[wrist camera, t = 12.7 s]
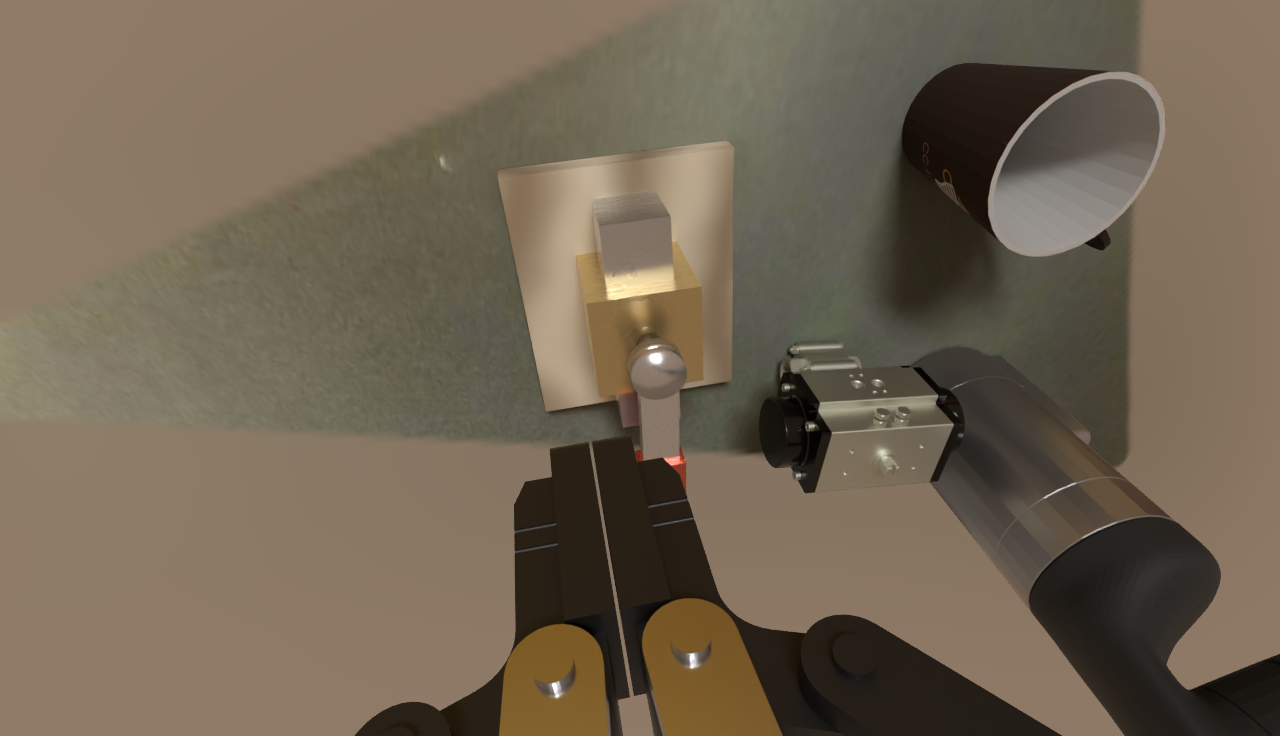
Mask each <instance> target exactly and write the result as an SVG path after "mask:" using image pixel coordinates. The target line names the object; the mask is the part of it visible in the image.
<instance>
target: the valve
mask: <svg viewBox="0 0 1280 736" xmlns="http://www.w3.org/2000/svg"><path fill="white" fill-rule="evenodd" d="M591 204H592V212H593V221H594V229H595V237H596V245H597V252H595V253H588V254H581V255H576V261H577V268H578V275H579V281H580V288H581V295H582V302H583V309H584V316H585V323H586V330H587V337H588V343H589V348H590V353H591V358H592V363H593V368H594V373H595V378H596V383H597V388H598V392H599V397H606V396H612V395H615V396H616V400H617V405H618V409H619V413H620V417H621V421H622V426H623V428H626V427H632V426H637V425H639V409H638V393H637V392H636V390H635V389H634V387H633V384H632V380H631V376H630V373H629V369H628V358H629V356H630V354H631V352H632V351H633V349H634V348H635V347H636V346H637V345H639V344H640V343H642V342H644V341H646V340H649V339H655V338H661V339H666V340H669V341H671V342H672V343H674V344H675V345H676V346H677V347H678V349H679V351H680V353H681V356H682V358H683V361H684V363H685V365H686V368H687V379H686V382H685V383H690V382H696V381H702V380H704V373H703V326H702V286H701V284H700V283H699V281H698V279H697V277H696V275H695V274H694V272H693V270H692V268H691V267H690V265H689V263H688V261H687V259H686V258H685V256H684V254H683V252H682V250H681V249H680V247H679V245H678V243H677V242H676V241H672V231H671V216H670V214H669V213H668V211H667V209H666V207H665V206H664V204H663V202H662V201H661V199H660V197H659V196H658V194H657V193H650V194H649V193H648V192H640V193H633V194H625V195H618V196H611V197H603V198H596V199H595V201H591ZM679 418H681V414H680V394H679Z"/></svg>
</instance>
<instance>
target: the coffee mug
mask: <svg viewBox="0 0 1280 736" xmlns="http://www.w3.org/2000/svg"><path fill="white" fill-rule="evenodd" d="M1165 130H1166V117H1165V109H1164V105H1163V103H1162V99H1161V96H1160V95H1159V93H1158V92H1157V90H1156V89H1155V88H1154V86H1153V85H1152V84H1150V83H1149V82H1148V81H1147V80H1145V79H1144V78H1142V77H1141V76H1138V75H1134V74H1131V73H1128V72H1117V71H1099V70H1082V69H1065V68H1048V67H1030V66H1013V65H996V64H979V63H964V64H959V65H955V66H953V67H950V68H948V69H945V70H944V71H942V72H941V73H939V74H937V75H936V76H935V77H933V78H932V79H931V80H930V81H929V82H928V83H927V84H926V85H925V86H924V87H923V88H922V89H921V90H920V92H919V93H918V94H917V96H916V97H915V99H914V100H913V102H912V104H911V106H910V108H909V110H908V113H907V115H906V118H905V122H904V126H903V135H902V140H903V148H904V151H905V154H906V156H907V158H908V160H909V161H910V163H911V164H912V165H913V166H914V167H915V168H917V169H918V170H919V171H920V172H921V173H922V174H923V175H924V176H926V177H927V178H928V179H929V180H930V181H931V182H932V183H934V184H935V185H936V186H937V187H938V188H939V189H940V190H942V191H943V192H944V193H945V194H946V195H947V196H948V197H950V198H951V199H952V200H953V201H954V202H955V203H956V204H957V205H959V206H960V207H961V208H962V209H963V210H964V211H965V212H967V213H968V214H969V215H970V216H971V217H972V218H973V219H975V220H976V221H977V222H978V223H979V224H980V225H981V226H983V227H984V228H985V229H986V230H987V231H988V232H989V233H990V234H992V235H993V236H994V237H995V238H996V239H997V240H998V241H1000V242H1001V243H1002V244H1003V245H1004V246H1005V247H1006V248H1008V249H1010V250H1012V251H1014V252H1016V253H1018V254H1021V255H1026V256H1032V257H1035V256H1049V255H1054V254H1058V253H1063V252H1065V251H1068V250H1070V249H1073V248H1075V247H1078V246H1080V245H1081V244H1083V243H1085V244H1087V245H1089V246H1091V247H1093V248H1096V249H1098V250H1104V249H1105V248H1106V247H1107V246H1108V245H1109V244H1110V243H1111V241H1110V238H1109V235H1108V233H1107V231H1106V230H1105V229H1106V228H1107V227H1109V226H1110V225H1111V224H1112V223H1113V222H1114V221H1115V220H1116V219H1117V218H1119V217H1120V216H1121V215H1122V214H1123V213H1124V212H1125V211H1126V210H1127V208H1128V207H1129V206H1130V205H1131V204H1132V202H1133V201H1134V200H1135V199H1136V198H1137V197H1138V195H1139V194H1140V192H1141V191H1142V189H1143V188H1144V186H1145V185H1146V183H1147V181H1148V180H1149V178H1150V176H1151V174H1152V172H1153V170H1154V168H1155V166H1156V164H1157V162H1158V159H1159V155H1160V153H1161V149H1162V147H1163V142H1164V137H1165ZM1095 237H1096V238H1095Z"/></svg>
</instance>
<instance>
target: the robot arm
mask: <svg viewBox="0 0 1280 736" xmlns="http://www.w3.org/2000/svg"><path fill="white" fill-rule="evenodd" d="M912 367H921V368H922V369H923V370H924V371H925V372H926V373H927V374H928V375H929V376H930V377H931V379H932V380H933V381H934V382H935V383H936V384H937V385H938V386H939V387H943V388H946V389H948V390H950V391H951V392H952V393H953V394H954V395H955V396H956V398H957V399H958V401H959V402H960V405H961V407H962V410H963V413H964V419H965V432H964V437H963V440H962V443H961V445H960V446H959V447H958V449H957V450H956V451H954V452H953V453H950V455H949V458H948V460H947V462H946V464H945V467H944V469H943V471H942V474H941V476H940V478H939V480H938V481H937V482H930V483H931V484H932V485H933V487H934V488H935V489H936V491H937V492H938V493H939V494H940V496H941V497H942V498H943V500H944V501H945V502H946V503H947V505H948V506H949V507H950V508H951V510H952V511H953V512H954V514H955V515H956V516H957V517H958V519H959V520H960V521H961V522H962V524H963V525H964V526H965V528H966V529H967V530H968V532H969V533H970V534H971V535H972V537H973V538H974V539H975V540H976V542H977V543H978V544H979V546H980V547H981V548H982V549H983V551H984V552H985V553H986V555H987V556H988V557H989V558H990V560H991V561H992V562H993V564H994V565H995V566H996V567H997V569H998V570H999V571H1000V572H1001V574H1002V575H1003V576H1004V577H1005V579H1006V580H1007V581H1008V583H1009V584H1010V585H1011V586H1012V588H1013V589H1014V590H1015V592H1016V593H1017V594H1018V595H1019V597H1020V598H1021V599H1022V600H1023V602H1024V603H1025V604H1026V606H1027V607H1028V608H1029V609H1030V610H1031V612H1032V614H1033V615H1034V616H1035V617H1036V619H1037V620H1038V621H1039V622H1040V624H1041V625H1042V626H1043V627H1044V629H1045V630H1046V631H1047V633H1048V634H1049V635H1050V637H1051V638H1052V639H1053V640H1054V642H1055V643H1056V644H1057V646H1058V647H1059V649H1060V650H1061V651H1062V653H1063V654H1064V655H1065V657H1066V658H1067V659H1068V661H1069V662H1070V663H1071V665H1072V666H1073V667H1074V669H1075V670H1076V671H1077V672H1078V674H1079V675H1080V676H1081V678H1082V679H1083V681H1084V682H1085V683H1086V684H1087V686H1088V687H1089V688H1090V690H1091V691H1092V692H1093V694H1094V695H1095V696H1096V697H1097V699H1098V700H1099V701H1100V703H1101V704H1102V705H1103V707H1104V708H1105V709H1106V710H1107V712H1108V713H1109V715H1110V716H1111V717H1112V719H1113V720H1114V722H1115V723H1116V724H1117V726H1118V727H1119V728H1120V730H1121V731H1122V733H1123V734H1124V735H1125V736H1280V654H1279V655H1276V656H1273V657H1271V658H1268V659H1266V660H1263V661H1260V662H1257V663H1255V664H1253V665H1250V666H1248V667H1245V668H1243V669H1240V670H1238V671H1235V672H1233V673H1230V674H1228V675H1226V676H1223V677H1220V678H1218V679H1216V680H1213V681H1211V682H1208V683H1206V684H1204V685H1201V686H1198V687H1197V688H1194V689H1191V690H1187V689H1185V688H1184V687H1183V686H1182V685H1181V684H1180V683H1179V682H1178V681H1177V680H1176V678H1175V677H1174V676H1173V674H1172V673H1171V671H1170V670H1169V669H1168V667H1167V665H1166V664H1167V661H1168V658H1169V656H1170V654H1171V652H1172V650H1173V648H1174V646H1175V645H1176V643H1177V642H1178V641H1179V639H1180V638H1181V637H1182V636H1183V635H1184V634H1185V633H1186V631H1187V630H1188V629H1189V628H1190V627H1191V626H1192V625H1193V624H1194V623H1195V622H1196V620H1197V619H1198V618H1199V617H1200V616H1201V615H1202V614H1203V612H1205V610H1206V609H1207V608H1208V606H1209V605H1210V603H1211V602H1212V600H1213V599H1214V596H1215V594H1216V592H1217V590H1218V587H1219V584H1220V579H1221V572H1220V568H1219V565H1218V563H1217V561H1216V559H1215V558H1214V557H1213V555H1212V554H1211V553H1210V551H1209V550H1207V548H1206V547H1205V546H1204V545H1202V544H1201V543H1200V542H1199V541H1198V540H1197V539H1196V538H1195V537H1193V536H1192V535H1191V534H1190V533H1189V532H1188V531H1187V530H1185V529H1184V528H1183V527H1182V526H1181V525H1180V524H1178V523H1177V522H1176V521H1174V520H1173V519H1172V518H1171V517H1170V516H1169V515H1167V514H1166V513H1165V512H1164V511H1163V510H1162V509H1161V508H1159V507H1158V506H1157V505H1156V504H1155V503H1154V502H1153V501H1151V500H1150V499H1149V498H1148V497H1147V496H1146V495H1145V494H1143V493H1142V492H1141V491H1140V490H1139V489H1138V488H1137V487H1135V486H1134V485H1133V484H1132V483H1131V482H1129V481H1128V480H1127V479H1126V478H1125V477H1124V476H1122V475H1121V474H1120V473H1119V472H1118V471H1117V470H1116V469H1114V468H1113V467H1112V466H1111V465H1110V464H1109V463H1108V462H1106V461H1105V460H1104V459H1103V458H1102V457H1101V456H1100V455H1098V454H1097V453H1096V452H1095V451H1094V450H1093V449H1092V448H1090V447H1089V446H1088V444H1089V442H1090V438H1091V436H1090V433H1089V431H1088V430H1087V429H1086V428H1085V427H1084V426H1082V425H1081V424H1080V423H1079V422H1078V421H1077V420H1075V419H1074V418H1073V417H1072V416H1071V415H1069V414H1068V413H1067V412H1066V411H1065V410H1064V409H1062V408H1061V407H1060V406H1059V405H1058V404H1056V403H1055V402H1054V401H1053V400H1052V399H1051V398H1049V397H1048V396H1047V395H1046V394H1045V393H1043V392H1042V391H1041V390H1040V389H1039V388H1038V387H1036V386H1035V385H1034V384H1033V383H1032V382H1030V381H1029V380H1028V379H1027V378H1026V377H1025V376H1023V375H1022V374H1021V373H1020V372H1019V371H1017V370H1016V369H1015V368H1014V367H1013V366H1012V365H1010V364H1009V363H1008V362H1007V361H1006V360H1004V359H1003V358H1002V357H1001V356H995V357H988V356H986V355H984V354H982V353H981V352H979V351H977V350H974V349H970V348H952V349H945V350H942V351H939V352H936V353H933V354H931V355H929V356H927V357H926V358H924V359H922V360H920V361H919V362H917V363H916V364H914V365H913V366H911V368H912ZM592 445H593V451H594V458H595V463H596V470H597V477H598V483H599V489H600V496H601V502H602V508H603V514H604V520H605V526H606V532H607V538H608V544H609V550H610V556H611V562H612V568H613V574H614V580H615V586H616V592H617V598H618V603H619V610H620V616H621V621H622V627H623V633H624V639H625V645H626V651H627V657H628V663H629V669H630V675H631V681H632V687H633V693H634V696H635V695H641V694H645V693H646V694H647V699H648V704H649V710H650V716H651V721H652V726H653V733H654V736H1062V735H1060V734H1058V733H1057V732H1055V731H1053V730H1052V729H1050V728H1048V727H1047V726H1045V725H1043V724H1042V723H1040V722H1038V721H1037V720H1035V719H1033V718H1032V717H1030V716H1028V715H1027V714H1025V713H1023V712H1022V711H1020V710H1018V709H1017V708H1015V707H1013V706H1011V705H1010V704H1008V703H1007V702H1005V701H1003V700H1001V699H1000V698H998V697H997V696H995V695H993V694H992V693H990V692H988V691H987V690H985V689H983V688H982V687H980V686H978V685H977V684H975V683H973V682H972V681H970V680H968V679H967V678H965V677H963V676H962V675H960V674H958V673H957V672H955V671H953V670H952V669H950V668H948V667H947V666H945V665H943V664H942V663H940V662H938V661H937V660H935V659H933V658H932V657H930V656H928V655H927V654H925V653H923V652H922V651H920V650H918V649H917V648H915V647H913V646H911V645H910V644H908V643H907V642H905V641H903V640H902V639H900V638H898V637H896V636H895V635H893V634H892V633H890V632H888V631H887V630H885V629H883V628H881V627H880V626H878V625H877V624H875V623H873V622H871V621H869V620H866V619H864V618H861V617H857V616H852V615H833V616H829V617H826V618H824V619H822V620H819V621H818V622H816V623H815V624H814V625H812V626H811V628H810V629H809V630H808V631H807V633H797V632H788V631H779V630H771V629H765V628H761V627H758V626H754V625H752V624H750V623H748V622H746V621H744V620H742V619H741V618H739V617H737V616H736V615H735V614H734V613H733V612H732V611H730V610H729V608H728V607H727V606H726V605H725V604H724V602H723V601H722V599H721V598H720V595H719V593H718V591H717V588H716V585H715V582H714V579H713V576H712V573H711V569H710V566H709V563H708V560H707V557H706V554H705V551H704V548H703V545H702V542H701V539H700V535H699V532H698V529H697V526H696V523H695V521H694V518H693V514H692V511H691V508H690V504H689V502H688V500H687V495H686V492H685V489H684V486H683V483H682V480H681V477H680V474H679V473H678V472H677V471H676V470H675V469H674V468H673V467H672V466H671V465H670V464H669V463H668V462H667V461H666V460H665V459H664V458H663V457H661V458H656V459H650V460H644V461H639V462H637V460H636V456H635V452H634V448H633V444H632V440H631V436H630V435H625V436H619V437H613V438H608V439H602V440H596V441H592ZM550 457H551V470H552V477H550V478H544V479H539V480H533V481H527V482H525V484H524V486H523V488H522V490H521V492H520V494H519V496H518V498H517V500H516V502H515V504H514V530H515V536H514V537H515V612H516V633H515V641H514V645H513V648H512V651H511V653H510V656H509V657H508V659H507V661H506V663H505V664H504V666H503V667H502V669H501V670H500V671H499V672H498V673H497V675H495V676H494V678H493V679H492V680H490V681H489V682H488V683H487V684H485V685H484V686H483V687H482V688H480V689H478V690H477V691H475V692H473V693H472V694H470V695H468V696H466V697H464V698H462V699H461V700H459V701H457V702H455V703H453V704H452V705H450V706H448V707H446V708H444V709H443V710H441V711H439V710H437V709H436V708H435V707H433V706H431V705H428V704H425V703H421V702H407V703H401V704H398V705H395V706H392V707H390V708H388V709H386V710H384V711H382V712H380V713H379V714H377V715H376V716H374V717H373V718H372V719H371V720H369V721H368V722H367V723H366V724H365V725H364V726H363V727H362V728H361V729H360V730H359V731H358V732H357V734H356V735H355V736H623V733H622V726H621V719H620V713H619V706H618V700H619V699H624V698H628V697H630V695H629V688H628V683H627V676H626V670H625V664H624V658H623V651H622V645H621V640H620V633H619V627H618V621H617V615H616V609H615V602H614V596H613V590H612V584H611V578H610V572H609V565H608V559H607V553H606V547H605V541H604V534H603V529H602V523H601V516H600V510H599V504H598V498H597V491H596V486H595V480H594V473H593V467H592V461H591V455H590V448H589V442H585V443H580V444H574V445H568V446H562V447H557V448H551V449H550Z"/></svg>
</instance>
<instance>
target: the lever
mask: <svg viewBox="0 0 1280 736" xmlns="http://www.w3.org/2000/svg"><path fill="white" fill-rule="evenodd" d="M628 369H629V373H630V376H631V380H632V384H633V387H634V389H635V390H636V392H637V393H638V409H639V427H640V445H641V450H638V451H635V456H636V460H637V462H639V461H644V460H650V459H656V458H661V457H663V458H664V459H665V460H666V461H667V462H668V463H669V464H670V465H671V466H672V467H673V468H674V469H675V470H676V471H677V472H678V473H679V474H680V477H681V480H682V483H683V486H684V489H685V492H686V462H685V459H684V456H683V453H682V450H681V447H680V444H679V390H680V389H681V388H682V387H683V385H684V384H685V382H686V379H687V368H686V365H685V363H684V361H683V358H682V356H681V353H680V351H679V349H678V347H677V346H676V345H675V344H674V343H672V342H671V341H669V340H666V339H661V338H655V339H649V340H646V341H644V342H642V343H640V344H639V345H637V346H636V347H635V348H634V349H633V351H632V352H631V354H630V356H629V358H628Z"/></svg>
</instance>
